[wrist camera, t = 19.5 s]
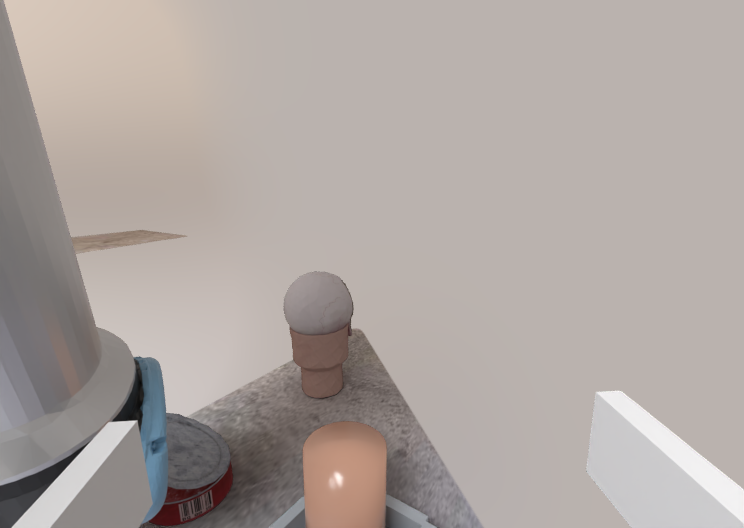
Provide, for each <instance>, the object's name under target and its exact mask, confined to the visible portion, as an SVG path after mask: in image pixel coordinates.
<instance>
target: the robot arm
mask: <svg viewBox="0 0 744 528" xmlns="http://www.w3.org/2000/svg"><path fill="white" fill-rule="evenodd" d="M166 430H167V419H166V405H165V395H164V385H163V379H162V372H161V368H160V364H159V362H158V361H157V360H156V359H154V358H150V357H149V358H142V357H133V356H132V354H131V351H130V350H129V348H128V346H127V344H126V343H124V341H123V340H121V339H120V338H119V337H117V336H116V335H114V334H112V333H110V332H109V331H106V330H104V329H101V328H98V327H96V325H95V321H94V318H93V314H92V311H91V307H90V304H89V300H88V296H87V293H86V289H85V286H84V282H83V279H82V275H81V272H80V269H79V265H78V261H77V258H76V254H75V251H74V247H73V244H72V240H71V236H70V233H69V230H68V226H67V222H66V219H65V215H64V212H63V208H62V205H61V201H60V198H59V194H58V191H57V187H56V184H55V180H54V177H53V173H52V170H51V166H50V162H49V159H48V156H47V152H46V148H45V145H44V141H43V138H42V134H41V131H40V127H39V124H38V120H37V117H36V113H35V110H34V106H33V103H32V99H31V95H30V92H29V88H28V85H27V81H26V78H25V75H24V71H23V68H22V64H21V61H20V57H19V53H18V50H17V46H16V43H15V39H14V36H13V32H12V28H11V25H10V22H9V18H8V14H7V11H6V7H5V4H4V1H3V0H0V528H139V527H140V525H141V524H143V523H146V522H147V521H149V520H151V519H152V518H153V517H154V516H155V515H156V514H157V513H158V512H159V511H160V510H161V508H162V506H163V504H164V502H165V499H166V495H167V488H168V448H167V442H166V438H167V431H166ZM586 472H587V473H588V474H589V475H590V477H591V478H592V479H593V480H594V482H595V483H596V484H597V485H598V487H599V488H600V489H601V490H602V492H603V493H604V494H605V495H606V496H607V498H608V499H609V500H610V501H611V503H612V504H613V505H614V507H615V508H616V509H617V510H618V512H619V513H620V514H621V515H622V516H623V518H624V519H625V520H626V522H627V523H628V524H629V525H630V527H631V528H744V490H743V489H742V488H741V487H740V486H739V485H737V484H736V483H735V482H734V481H732V480H731V479H730V478H729V477H727V476H726V475H725V474H724V473H722V472H721V471H720V470H719V469H717V468H716V467H715V466H714V465H712V464H711V463H710V462H709V461H708V460H706V459H705V458H704V457H703V456H701V455H700V454H699V453H697V452H696V451H695V450H694V449H692V448H691V447H690V446H689V445H688V444H686V443H685V442H684V441H683V440H681V439H680V438H679V437H678V436H676V435H675V434H674V433H673V432H671V431H670V430H669V429H668V428H666V427H665V426H664V425H663V424H661V423H660V422H659V421H658V420H656V419H655V418H654V417H653V416H652V415H650V414H649V413H648V412H647V411H645V410H644V409H643V408H642V407H640V406H639V405H638V404H637V403H635V402H634V401H633V400H632V399H630V398H629V397H628V396H627V395H625V394H624V393H623V392H622V391H605V392H596V394H595V403H594V411H593V419H592V427H591V436H590V444H589V452H588V460H587V468H586Z"/></svg>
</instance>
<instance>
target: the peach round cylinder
mask: <svg viewBox="0 0 744 528" xmlns="http://www.w3.org/2000/svg"><path fill="white" fill-rule="evenodd" d="M386 460H387V446H386V441H385V439H384V437H383V436H382V435H381V433H379V432H378V431H377V430H376V429H374V428H373V427H371V426H369V425H366V424H363V423H359V422H352V421H342V422H335V423H331V424H327V425H325V426H322V427H320V428H319V429H317V430H315V431H314V432H313V433H312V434H311V435H310V436H309V437H308V438H307V439H306V441H305V443H304V446H303V474H304V500H305V526H306V528H385V519H386Z"/></svg>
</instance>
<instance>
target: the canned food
mask: <svg viewBox="0 0 744 528" xmlns="http://www.w3.org/2000/svg"><path fill="white" fill-rule="evenodd" d="M166 419H167V430H166V431H167V438H166V442H167V448H168V488H167V495H166V499H165V502H164V504H163V506H162V508H161V510H160V511H159V512H158V513H157V514H156V515H155V516H154V517H153V518H152V519H151V520H149V522H151V523H153V524H156V525H162V526H174V525H179V524H184V523H187V522H190V521H193V520H195V519H197V518H199V517H201V516H203V515H205V514H206V513H208V512H210V511H211V510H212V509H214V508H215V507H216V506H217V505H218V504H220V502H221V501H222V500H223V499H224V498H225V497H226V495H227V494H228V492H229V491H230V488H231V486H232V482H233V474H232V467H231V456H230V452H229V446H228V445H227V444H226V442H225V441H224V440H223V438H222V437H221V435H219V434H218V433H216V432H214V431H213V430H212V429H211V428H210V427H209V426H206V425H204V424H201V423H199V422H198V421H196V420H194V419H190V418H186V417H184V416H182V415H180V414H171V413H166Z"/></svg>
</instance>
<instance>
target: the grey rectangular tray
mask: <svg viewBox="0 0 744 528" xmlns="http://www.w3.org/2000/svg"><path fill="white" fill-rule="evenodd" d="M269 528H306V526H305V500H304V496H303V497H301V498H300V499H299V500H298V501H297V502H296V503H295V504H294V505H293V506H292V507H290V508H289V509H288V510H287V511H286V512H285V513H284V514H283V515H282V516H281V517H279V518H278V519H277V520H276V521H275V522H274V523H273V524H272V525H271V526H270V527H269ZM385 528H439V527H437V526H435V525H433V524H432V523H430V522H428V516H427V515H425V514H423V513H421V512H419V511H417V510H416V509H414V508H412V507H410V506H408V505H406V504H405V503H403V502H401V501H399V500H397V499H395V498H394V497H392V496H390V495H388V494H386V519H385Z"/></svg>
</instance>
